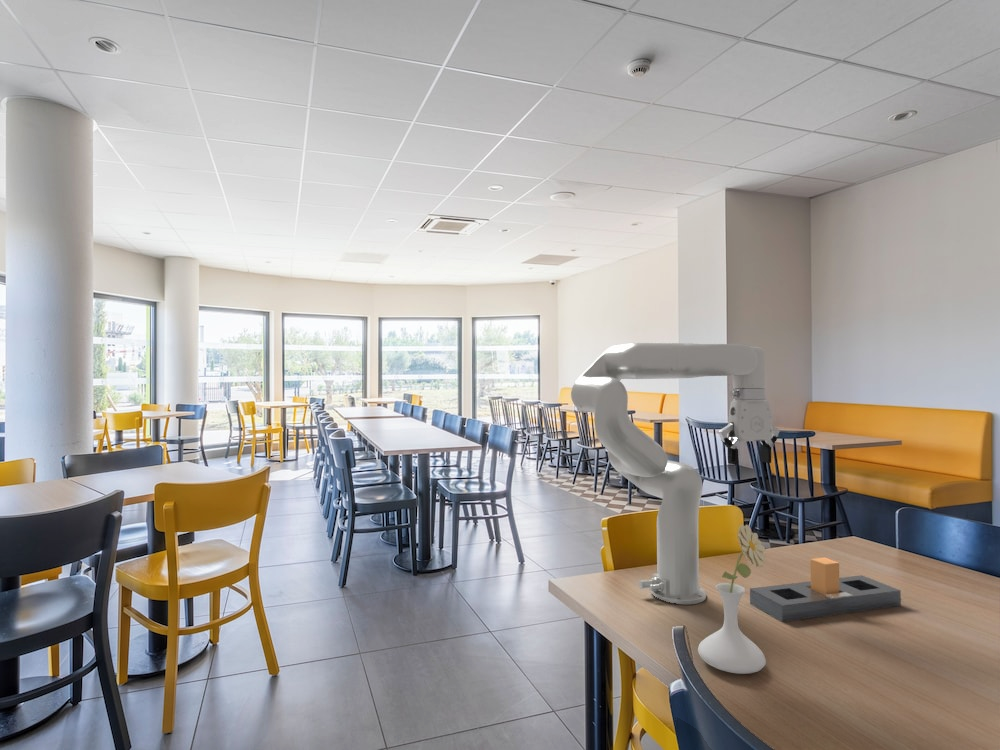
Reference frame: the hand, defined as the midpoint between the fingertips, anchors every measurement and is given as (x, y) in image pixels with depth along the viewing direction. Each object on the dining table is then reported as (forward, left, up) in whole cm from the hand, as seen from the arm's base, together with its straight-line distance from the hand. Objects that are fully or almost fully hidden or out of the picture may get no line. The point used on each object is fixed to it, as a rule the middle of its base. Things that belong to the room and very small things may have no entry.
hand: (749, 463), depth 141 cm
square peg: (+7, -16, -30) cm, 35 cm away
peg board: (+7, -16, -30) cm, 35 cm away
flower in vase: (-30, -33, -31) cm, 54 cm away
